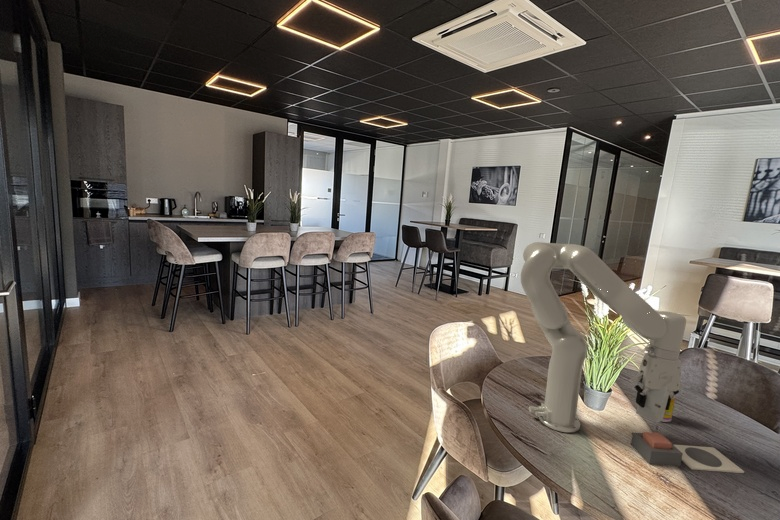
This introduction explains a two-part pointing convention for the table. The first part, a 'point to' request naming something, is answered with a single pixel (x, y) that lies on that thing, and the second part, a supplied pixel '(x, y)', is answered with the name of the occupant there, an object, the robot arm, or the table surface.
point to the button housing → (656, 452)
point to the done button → (656, 440)
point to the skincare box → (654, 404)
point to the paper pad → (706, 459)
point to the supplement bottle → (669, 411)
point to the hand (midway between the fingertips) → (651, 406)
